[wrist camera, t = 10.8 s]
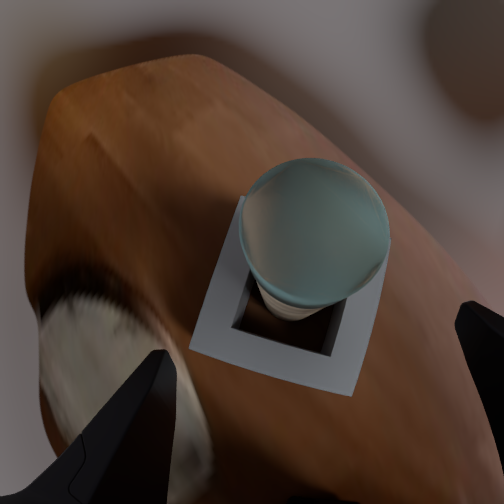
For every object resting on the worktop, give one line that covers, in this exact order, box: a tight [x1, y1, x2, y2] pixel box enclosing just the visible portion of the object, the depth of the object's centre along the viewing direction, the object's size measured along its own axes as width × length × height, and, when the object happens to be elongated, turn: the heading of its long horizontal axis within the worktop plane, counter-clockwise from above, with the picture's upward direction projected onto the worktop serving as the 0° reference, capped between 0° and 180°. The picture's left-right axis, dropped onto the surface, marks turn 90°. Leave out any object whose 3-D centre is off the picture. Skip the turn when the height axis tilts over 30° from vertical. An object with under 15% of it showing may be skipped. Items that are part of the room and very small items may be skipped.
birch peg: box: [239, 158, 390, 321], centre depth 15 cm, size 4×4×14 cm
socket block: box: [189, 196, 391, 397], centre depth 19 cm, size 10×10×4 cm
